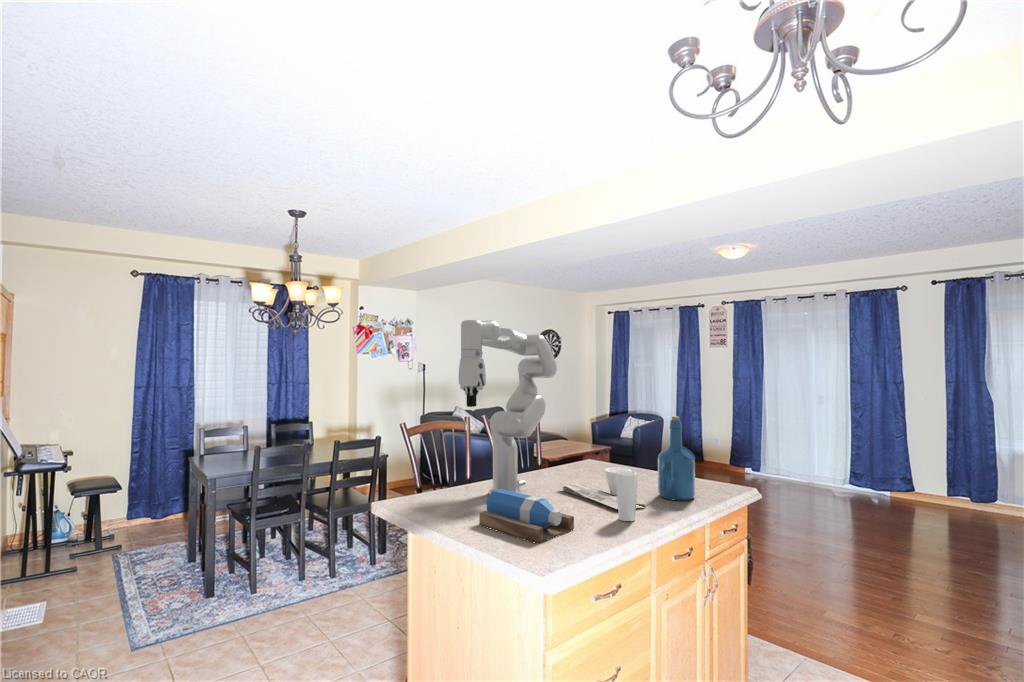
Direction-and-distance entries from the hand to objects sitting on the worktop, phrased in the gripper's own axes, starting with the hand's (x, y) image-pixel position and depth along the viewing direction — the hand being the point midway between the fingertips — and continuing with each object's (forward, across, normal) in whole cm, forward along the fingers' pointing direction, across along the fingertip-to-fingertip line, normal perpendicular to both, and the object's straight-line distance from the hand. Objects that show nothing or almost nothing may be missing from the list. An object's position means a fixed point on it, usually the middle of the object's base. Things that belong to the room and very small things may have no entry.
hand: (471, 406), depth 185 cm
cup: (+35, -29, -49) cm, 67 cm away
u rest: (+35, -30, +4) cm, 46 cm away
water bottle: (+30, -16, +4) cm, 34 cm away
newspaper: (+36, -27, -38) cm, 59 cm away
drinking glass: (+35, -48, -24) cm, 64 cm away
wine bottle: (+35, -47, -61) cm, 85 cm away
